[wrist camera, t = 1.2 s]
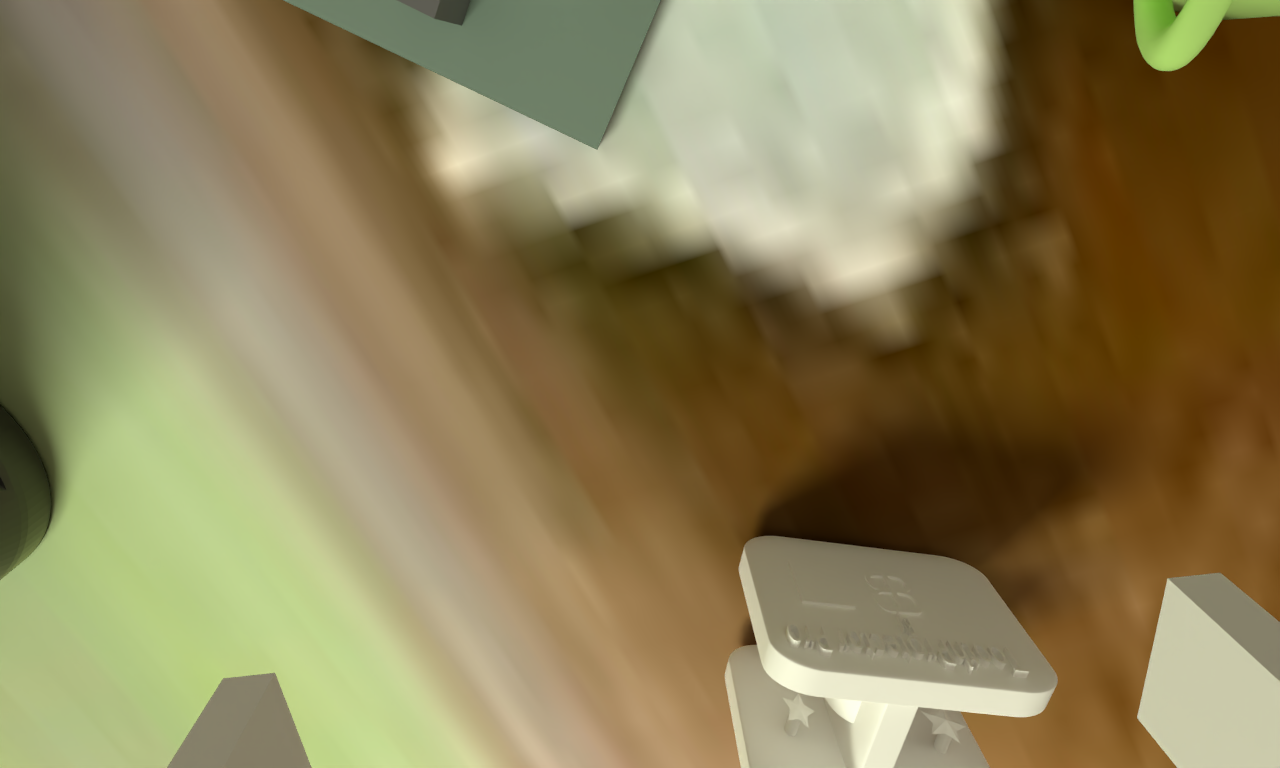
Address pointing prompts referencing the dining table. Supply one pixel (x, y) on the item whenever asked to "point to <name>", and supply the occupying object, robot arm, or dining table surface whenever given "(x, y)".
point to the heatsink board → (513, 49)
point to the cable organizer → (873, 658)
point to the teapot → (1187, 26)
